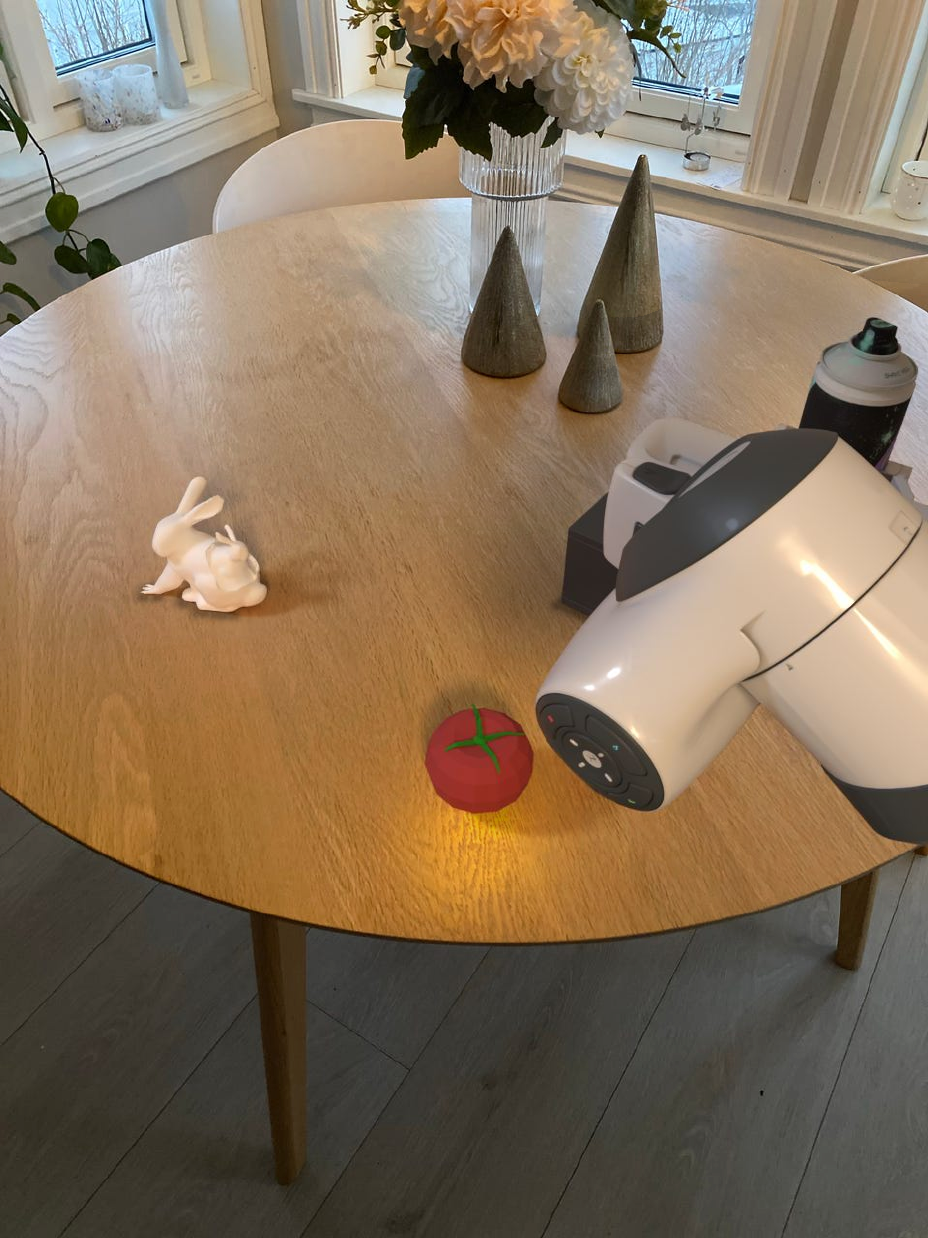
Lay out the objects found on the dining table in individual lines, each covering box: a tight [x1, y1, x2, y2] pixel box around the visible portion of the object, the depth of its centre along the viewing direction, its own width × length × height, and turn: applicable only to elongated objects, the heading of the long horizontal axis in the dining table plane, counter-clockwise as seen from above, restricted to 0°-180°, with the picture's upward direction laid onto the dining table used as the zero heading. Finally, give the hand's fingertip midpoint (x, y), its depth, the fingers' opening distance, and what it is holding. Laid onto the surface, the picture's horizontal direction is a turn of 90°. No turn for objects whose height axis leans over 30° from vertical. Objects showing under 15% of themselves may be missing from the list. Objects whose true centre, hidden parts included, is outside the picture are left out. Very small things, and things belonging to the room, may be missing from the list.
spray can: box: [797, 316, 919, 472], centre depth 59 cm, size 6×6×20 cm
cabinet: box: [560, 490, 618, 617], centre depth 85 cm, size 17×14×9 cm
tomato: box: [424, 702, 535, 815], centre depth 69 cm, size 8×8×8 cm
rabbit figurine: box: [140, 476, 268, 613], centre depth 85 cm, size 12×8×10 cm, turn 67°
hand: (842, 454), depth 59 cm, fingers closed on spray can, 5 cm apart
